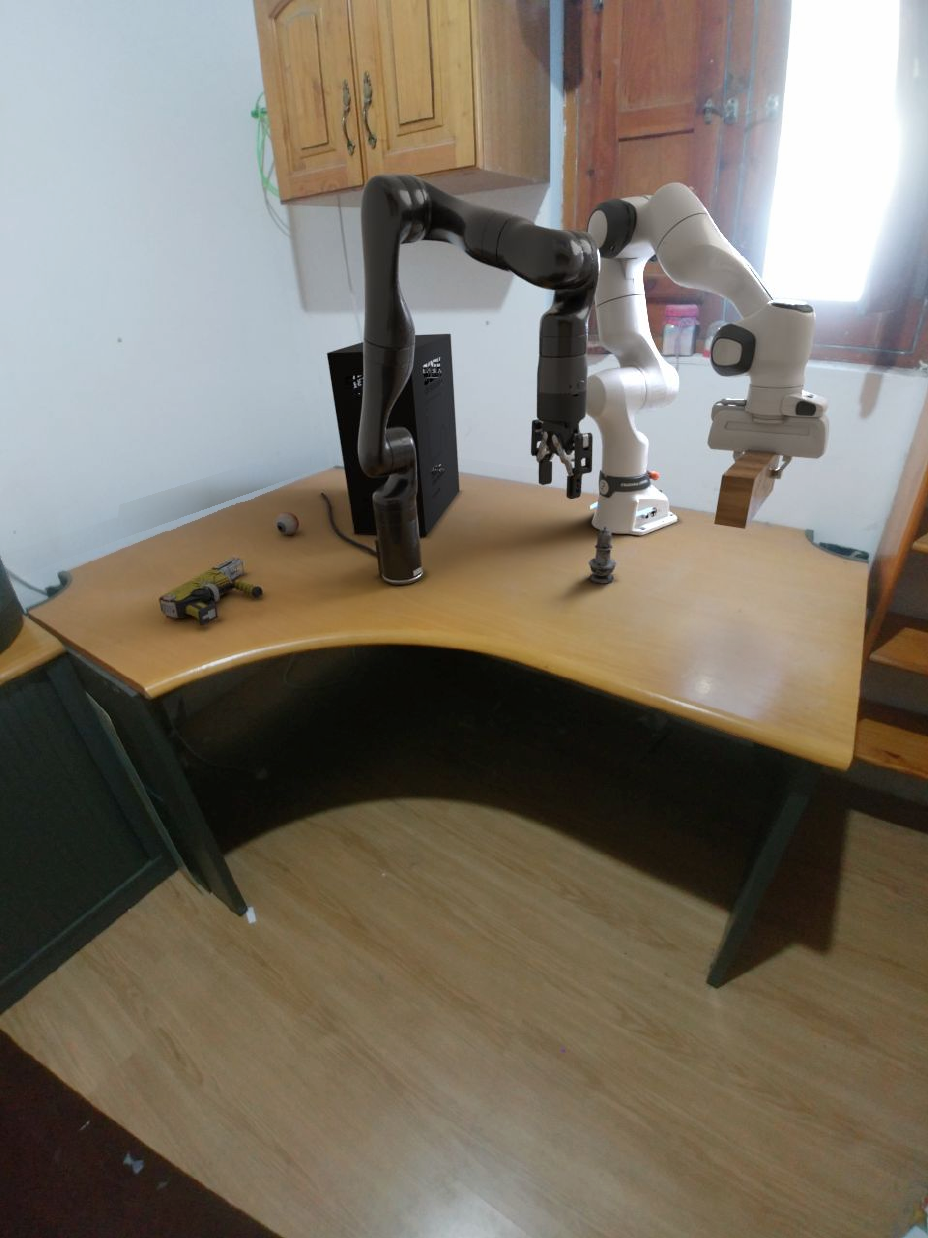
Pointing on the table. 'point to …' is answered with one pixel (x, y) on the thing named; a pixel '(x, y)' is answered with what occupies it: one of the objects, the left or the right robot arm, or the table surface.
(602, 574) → the grey chess piece
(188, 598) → the toy gun
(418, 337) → the cardboard box
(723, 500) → the bar
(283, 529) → the eyeball
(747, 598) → the table surface
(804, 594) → the table surface
